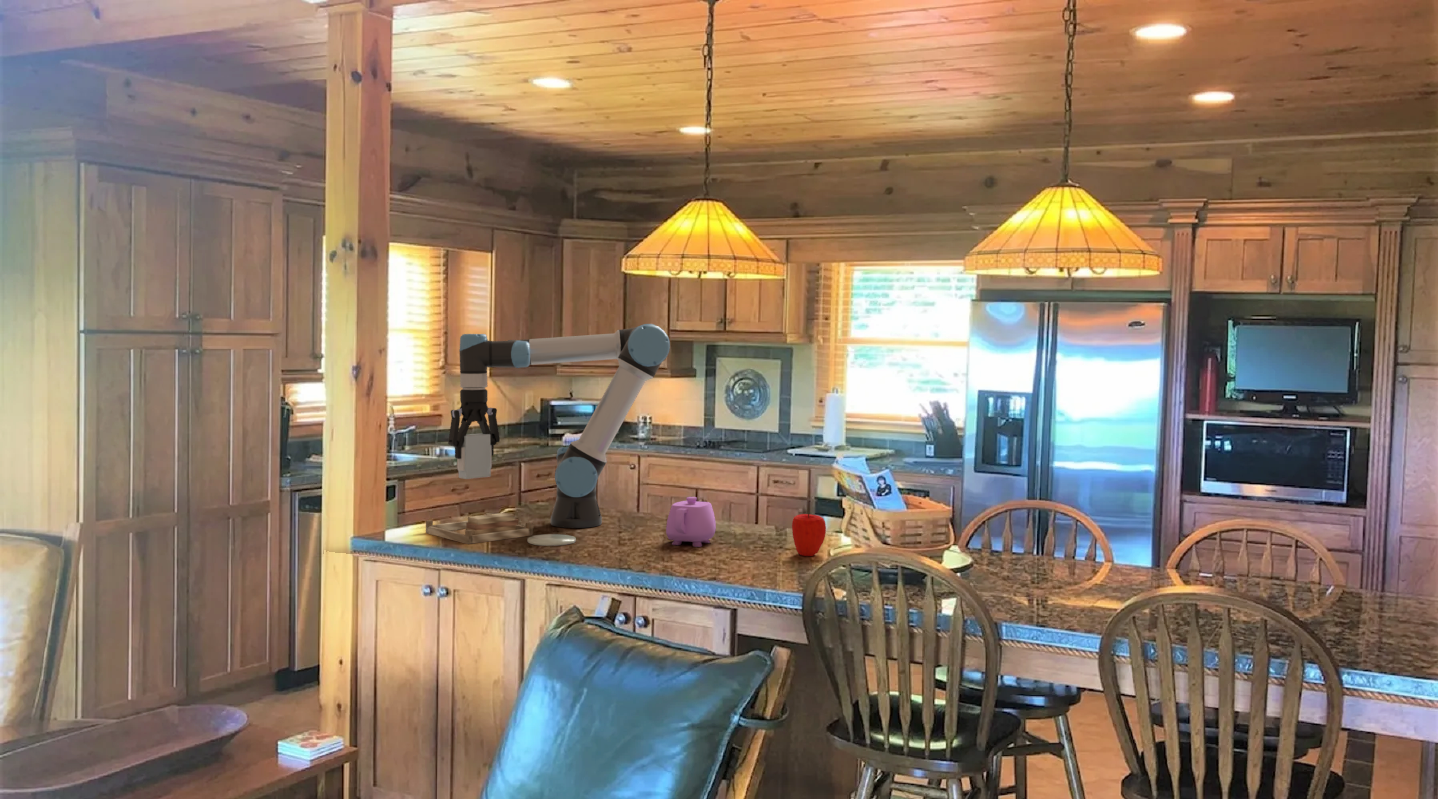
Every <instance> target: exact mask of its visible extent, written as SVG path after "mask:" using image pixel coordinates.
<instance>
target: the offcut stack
mask: <svg viewBox="0 0 1438 799" xmlns="http://www.w3.org/2000/svg"><path fill="white" fill-rule="evenodd" d="M467 521H468V523H466V529H465V530H472V535H479V534H487V533H494V532H502V531H510V530H516V525H519V519H518V518H516V517H515V514H512V513H509V512H500V513H491V514H489V515H485V514H484V515H483V514H482V515H475V516H474V515H472V516H468V517H467Z"/></svg>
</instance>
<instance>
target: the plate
mask: <svg viewBox="0 0 1438 799" xmlns="http://www.w3.org/2000/svg"><path fill="white" fill-rule="evenodd" d="M576 538H577V537H575V536H573V535H568V534H559V533H558V534H557V533H553V534H537V535H531V536H528V537H527V543H528V544H530V545H535V546H542V547H546V546H547V547H554V546H555V547H556V546H566V545H573V544H574V543H575V542H576Z"/></svg>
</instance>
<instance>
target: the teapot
mask: <svg viewBox="0 0 1438 799" xmlns="http://www.w3.org/2000/svg"><path fill="white" fill-rule="evenodd" d="M685 499H686V500H682V501H676V502H674V503H673V504H671V505H670V506H671V507H670V510H669V513H668V517H667V520H666V528H665V530H666V531H665V533H666V536H667V538H668V540H670V541H672V542H671V545H673V546H681V545H682V542H690V543H691V542H692V547H694V548H702V547H703V544H710V543H711V541H710V540H711V539H712V538H713V537H714V536H715V533H716V529H717V528H716V526H717V523H716V518H715V516H716V515H715V512H714V509H713V506H712V503H711V502H709V501H697V497H696V496H687V497H685ZM702 543H703V544H702Z"/></svg>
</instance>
